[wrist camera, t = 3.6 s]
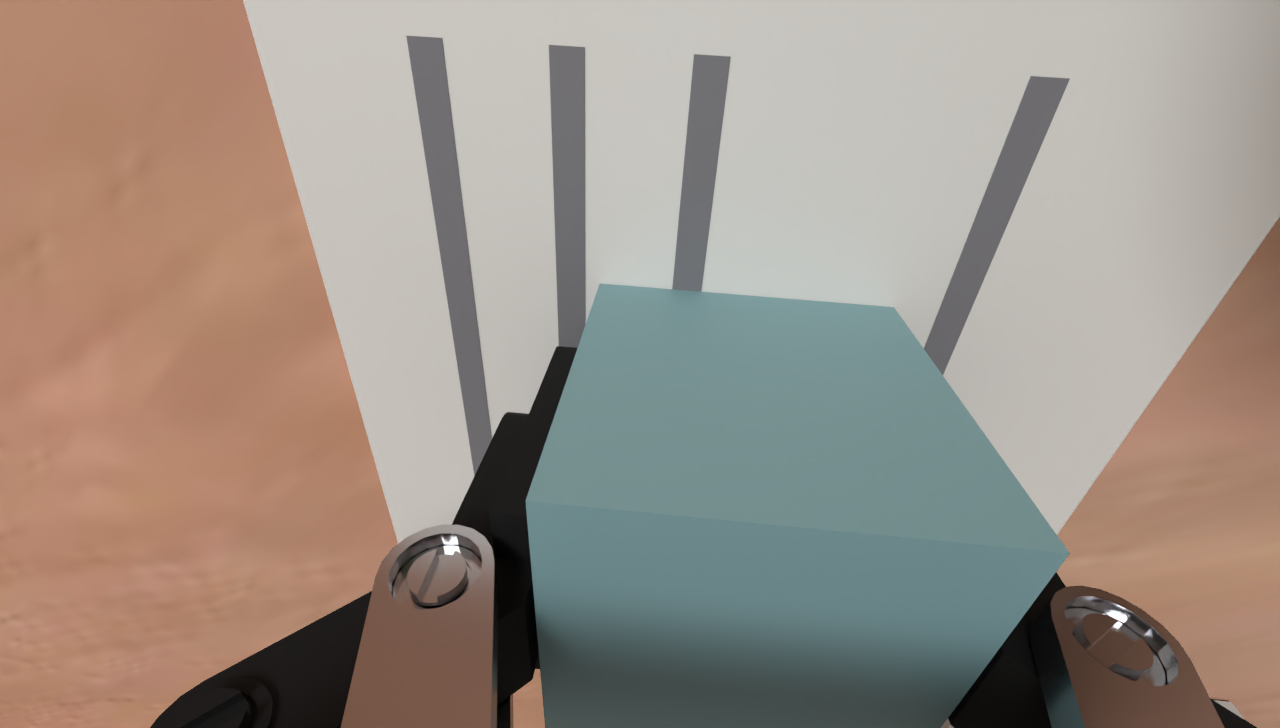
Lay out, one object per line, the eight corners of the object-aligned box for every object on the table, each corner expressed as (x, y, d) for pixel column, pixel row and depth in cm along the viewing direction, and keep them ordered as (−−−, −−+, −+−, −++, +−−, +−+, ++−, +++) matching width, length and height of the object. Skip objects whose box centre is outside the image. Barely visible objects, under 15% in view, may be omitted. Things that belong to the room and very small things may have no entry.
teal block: (894, 307, 9) (1069, 553, 5) (823, 512, 12) (898, 784, 8) (599, 283, 9) (525, 501, 5) (596, 490, 12) (547, 744, 8)
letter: (1480, -99, 6) (1505, -103, 6) (933, 699, 16) (936, 707, 16) (207, -165, 7) (193, -171, 6) (432, 646, 16) (429, 653, 16)
